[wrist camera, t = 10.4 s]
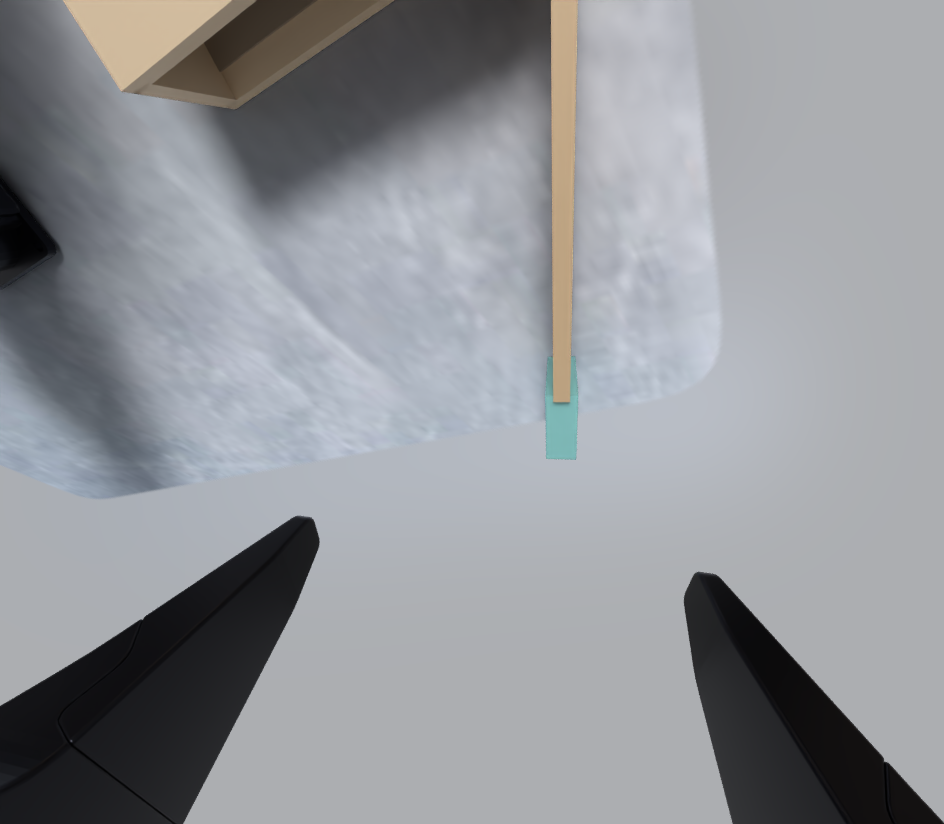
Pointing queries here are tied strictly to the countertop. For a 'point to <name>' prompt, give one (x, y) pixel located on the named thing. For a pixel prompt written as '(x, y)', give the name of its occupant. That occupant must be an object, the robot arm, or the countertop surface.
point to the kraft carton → (212, 42)
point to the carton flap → (562, 235)
